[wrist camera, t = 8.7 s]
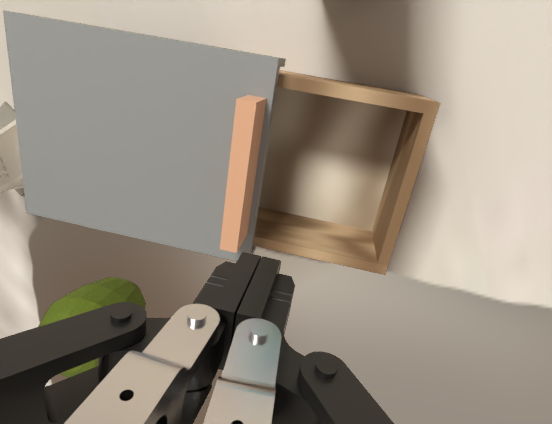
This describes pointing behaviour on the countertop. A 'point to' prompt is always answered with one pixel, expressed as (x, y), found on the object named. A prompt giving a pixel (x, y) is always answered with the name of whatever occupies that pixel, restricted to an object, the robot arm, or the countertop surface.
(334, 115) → the wooden box
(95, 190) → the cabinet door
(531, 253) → the countertop surface
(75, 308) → the green faceted ovoid
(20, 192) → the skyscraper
